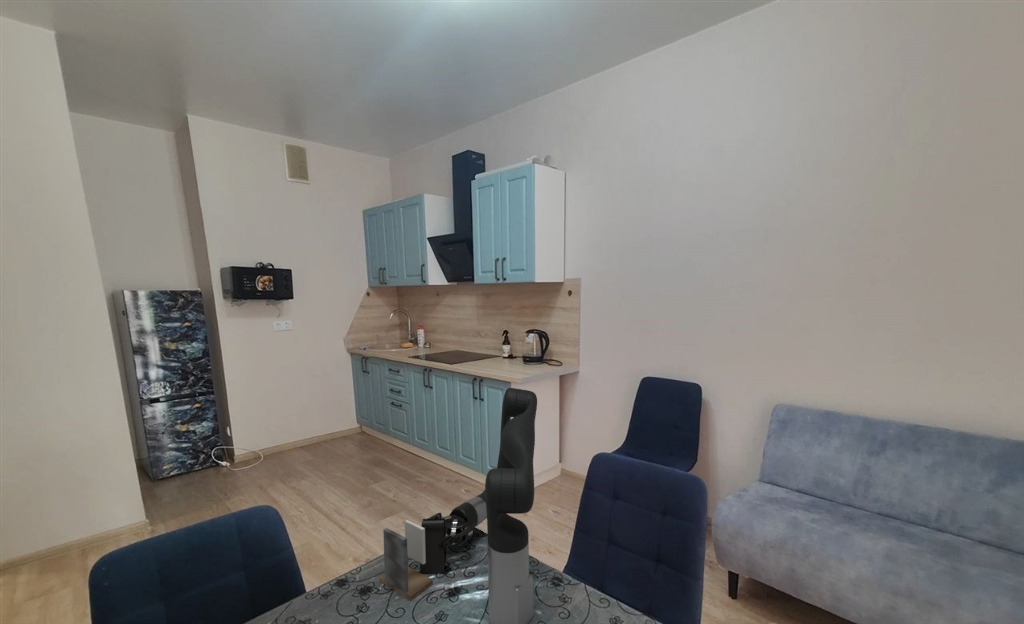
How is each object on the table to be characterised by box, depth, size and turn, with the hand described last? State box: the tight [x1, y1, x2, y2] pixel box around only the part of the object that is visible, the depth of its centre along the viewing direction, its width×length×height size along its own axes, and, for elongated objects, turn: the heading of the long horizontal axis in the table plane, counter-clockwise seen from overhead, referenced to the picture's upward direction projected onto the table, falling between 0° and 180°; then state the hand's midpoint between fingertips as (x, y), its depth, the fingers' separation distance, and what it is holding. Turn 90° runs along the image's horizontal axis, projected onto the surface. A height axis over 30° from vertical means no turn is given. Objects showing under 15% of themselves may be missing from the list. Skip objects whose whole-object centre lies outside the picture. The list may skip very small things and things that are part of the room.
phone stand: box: [419, 518, 448, 575], centre depth 110 cm, size 9×6×12 cm, turn 1°
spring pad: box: [404, 519, 426, 564], centre depth 105 cm, size 9×1×12 cm, turn 53°
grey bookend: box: [379, 527, 434, 602], centre depth 102 cm, size 12×7×14 cm, turn 54°
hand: (428, 540), depth 108 cm, fingers open, 8 cm apart
